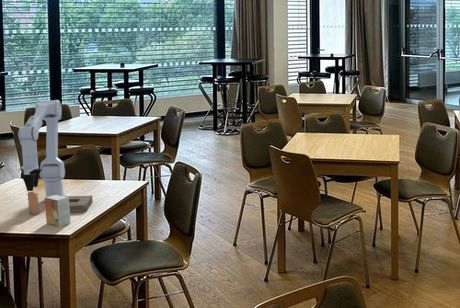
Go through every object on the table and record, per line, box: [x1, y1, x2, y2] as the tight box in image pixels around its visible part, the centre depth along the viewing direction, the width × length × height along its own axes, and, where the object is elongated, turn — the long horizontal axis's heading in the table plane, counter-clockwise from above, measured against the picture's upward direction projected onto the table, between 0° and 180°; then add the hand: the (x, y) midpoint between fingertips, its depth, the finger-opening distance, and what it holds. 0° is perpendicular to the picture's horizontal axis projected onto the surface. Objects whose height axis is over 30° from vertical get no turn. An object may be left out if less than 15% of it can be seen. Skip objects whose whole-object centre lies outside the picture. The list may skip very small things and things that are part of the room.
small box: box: [44, 195, 71, 227], centre depth 249 cm, size 8×6×10 cm
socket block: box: [63, 195, 94, 214], centre depth 272 cm, size 16×14×3 cm
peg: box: [27, 191, 41, 216], centre depth 263 cm, size 4×4×9 cm
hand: (32, 188), depth 262 cm, fingers open, 7 cm apart
